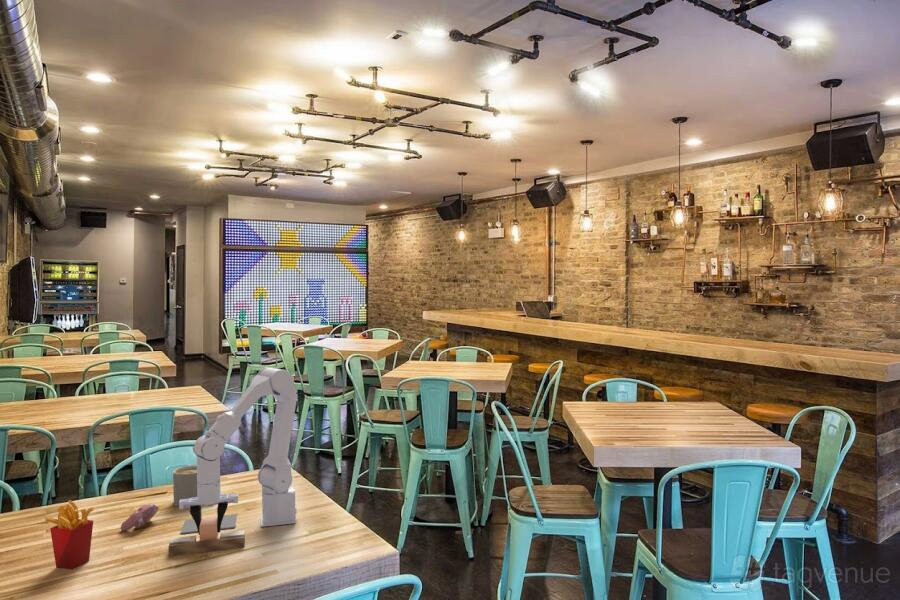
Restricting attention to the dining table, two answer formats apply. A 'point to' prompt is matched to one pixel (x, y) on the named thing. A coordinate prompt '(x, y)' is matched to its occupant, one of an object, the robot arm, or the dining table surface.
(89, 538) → the french fries
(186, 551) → the brown u-shaped block
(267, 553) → the dining table surface
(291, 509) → the robot arm
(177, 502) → the coffee mug
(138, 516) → the video game controller
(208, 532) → the salmon pillar
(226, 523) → the slate pad
